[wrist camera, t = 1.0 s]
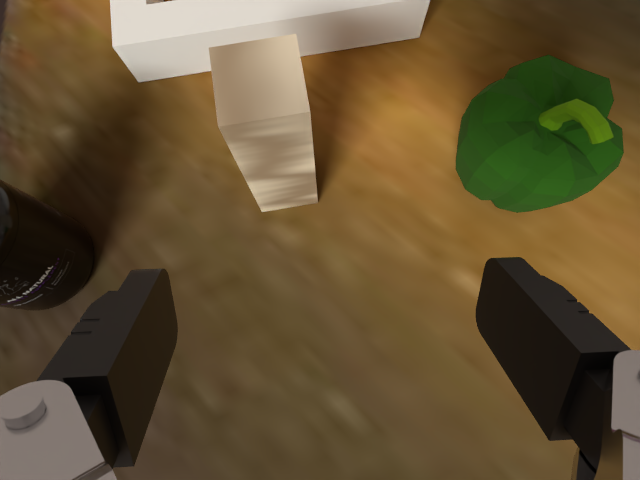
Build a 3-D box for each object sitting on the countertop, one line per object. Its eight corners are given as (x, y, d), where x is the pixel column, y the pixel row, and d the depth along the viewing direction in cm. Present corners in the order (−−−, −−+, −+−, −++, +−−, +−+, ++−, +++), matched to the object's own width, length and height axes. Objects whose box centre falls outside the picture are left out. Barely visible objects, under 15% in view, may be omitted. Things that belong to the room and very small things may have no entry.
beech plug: (309, 151, 31) (296, 33, 19) (318, 202, 30) (310, 111, 18) (254, 160, 31) (208, 47, 19) (262, 212, 30) (218, 126, 18)
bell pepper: (433, 122, 31) (480, 22, 21) (545, 116, 31) (644, 12, 21) (447, 233, 29) (506, 177, 19) (566, 226, 29) (687, 167, 19)
